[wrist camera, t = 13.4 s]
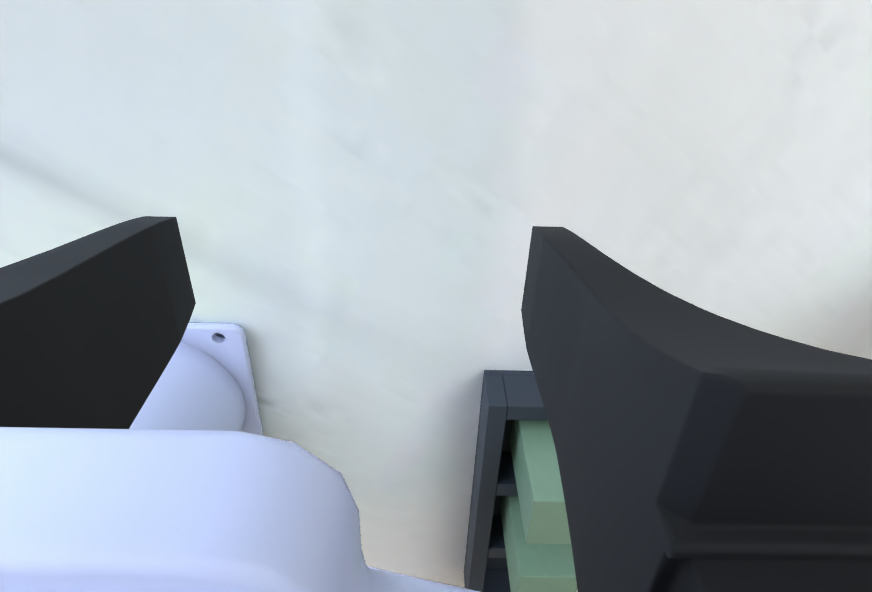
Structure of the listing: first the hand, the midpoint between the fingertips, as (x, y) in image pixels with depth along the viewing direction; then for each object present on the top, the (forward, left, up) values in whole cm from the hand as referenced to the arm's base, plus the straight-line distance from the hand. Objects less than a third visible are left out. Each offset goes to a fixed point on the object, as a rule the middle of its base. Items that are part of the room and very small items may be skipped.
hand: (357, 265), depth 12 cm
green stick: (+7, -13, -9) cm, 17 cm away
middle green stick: (+7, -18, -9) cm, 21 cm away
